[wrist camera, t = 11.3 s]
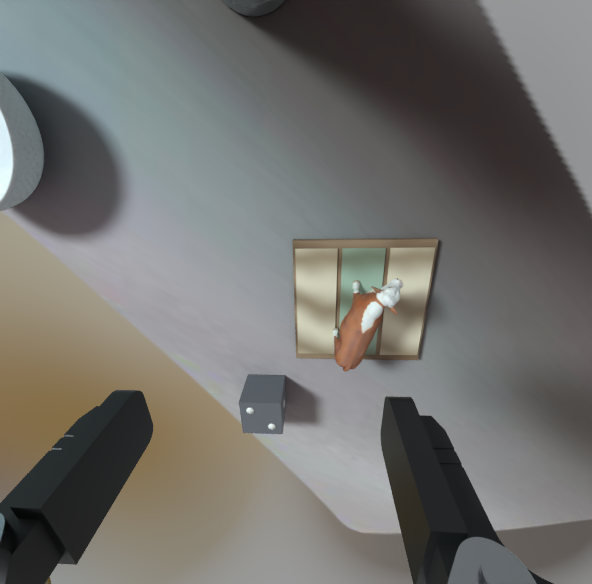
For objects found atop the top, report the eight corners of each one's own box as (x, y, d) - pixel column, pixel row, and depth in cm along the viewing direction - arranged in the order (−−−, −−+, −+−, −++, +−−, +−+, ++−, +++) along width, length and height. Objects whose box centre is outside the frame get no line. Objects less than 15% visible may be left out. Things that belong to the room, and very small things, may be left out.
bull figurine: (396, 267, 37) (416, 292, 29) (350, 347, 42) (357, 386, 34) (365, 254, 36) (378, 276, 29) (322, 337, 41) (324, 374, 34)
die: (248, 374, 46) (238, 402, 41) (285, 375, 46) (281, 403, 40) (251, 403, 49) (243, 433, 43) (287, 404, 48) (283, 435, 43)
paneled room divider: (293, 239, 37) (292, 241, 36) (436, 237, 36) (439, 239, 35) (296, 354, 44) (296, 358, 43) (416, 356, 43) (418, 360, 42)
